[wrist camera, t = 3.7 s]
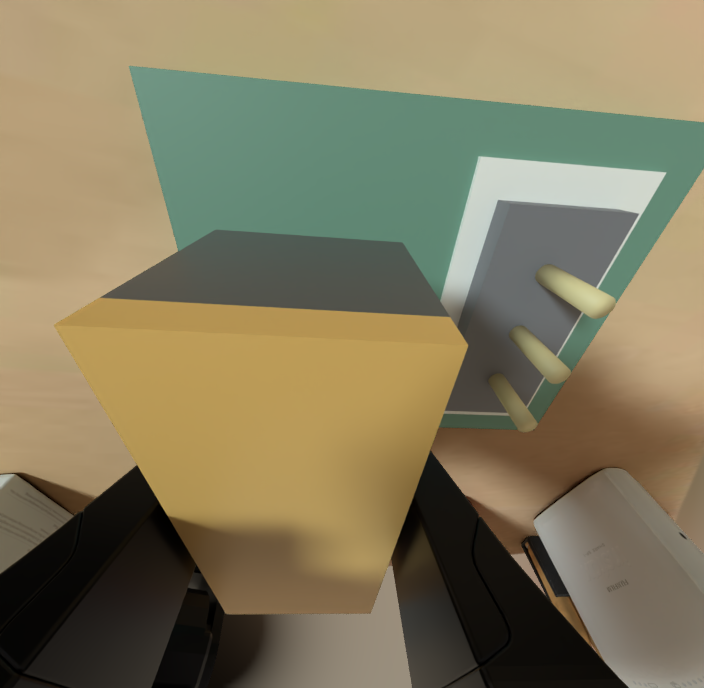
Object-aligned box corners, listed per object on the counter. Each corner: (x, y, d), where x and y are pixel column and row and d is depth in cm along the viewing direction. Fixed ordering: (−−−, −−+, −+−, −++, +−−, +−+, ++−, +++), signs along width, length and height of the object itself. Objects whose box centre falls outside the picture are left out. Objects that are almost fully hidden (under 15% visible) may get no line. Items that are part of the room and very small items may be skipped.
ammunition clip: (520, 543, 32) (598, 718, 22) (526, 536, 31) (611, 715, 21) (610, 542, 33) (728, 714, 23) (620, 535, 32) (746, 711, 22)
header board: (522, 412, 20) (577, 493, 15) (231, 402, 19) (193, 486, 14) (688, 128, 11) (945, 109, 6) (155, 76, 10) (-18, 6, 5)
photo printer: (600, 461, 24) (798, 700, 13) (640, 470, 24) (855, 700, 14) (523, 519, 29) (621, 720, 19) (557, 524, 30) (669, 720, 19)
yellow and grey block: (363, 478, 11) (370, 613, 8) (261, 476, 11) (226, 614, 8) (402, 242, 6) (468, 345, 3) (215, 229, 6) (54, 324, 3)
